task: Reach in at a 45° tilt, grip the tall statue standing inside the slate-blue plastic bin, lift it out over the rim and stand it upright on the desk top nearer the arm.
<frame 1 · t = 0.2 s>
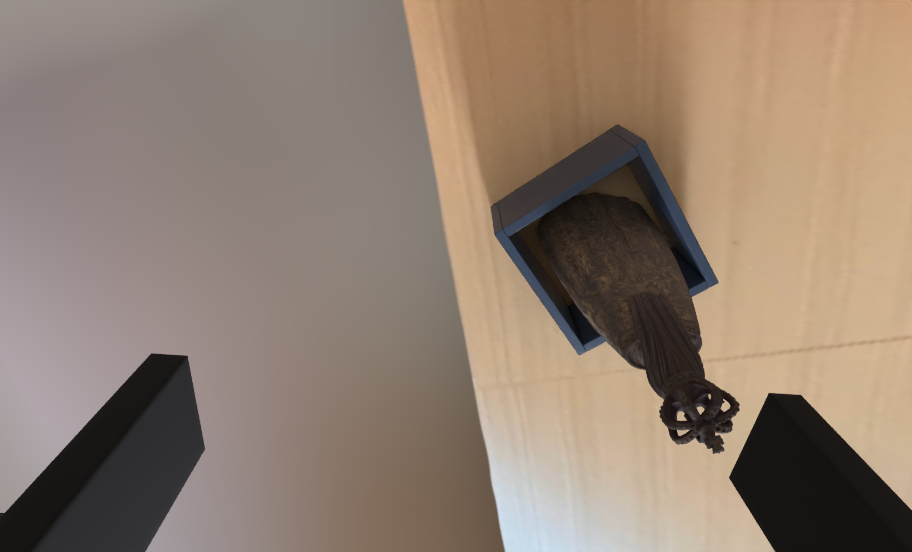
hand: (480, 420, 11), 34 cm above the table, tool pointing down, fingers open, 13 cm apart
bin: (588, 228, 45), on the table
statue: (588, 227, 45), resting in bin
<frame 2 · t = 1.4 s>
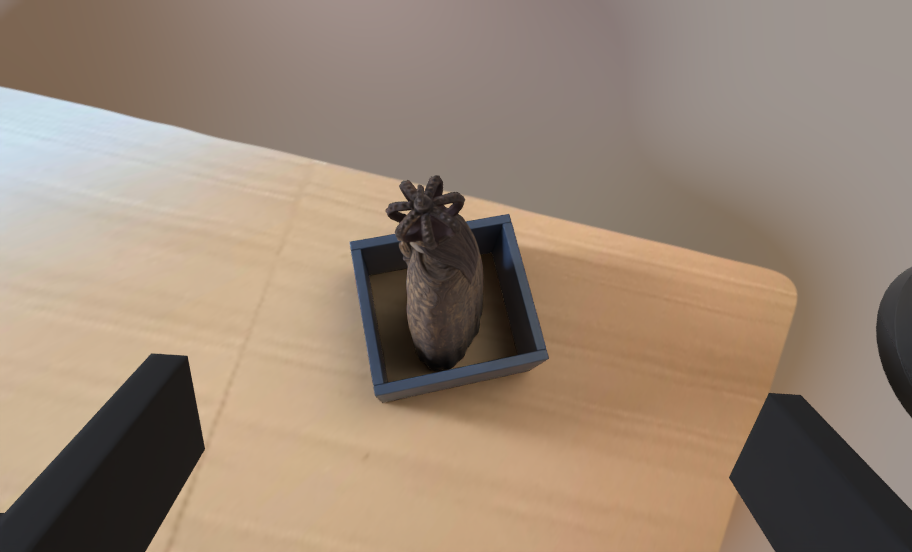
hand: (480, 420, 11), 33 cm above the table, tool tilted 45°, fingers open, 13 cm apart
bin: (443, 318, 46), on the table
statue: (443, 319, 46), resting in bin
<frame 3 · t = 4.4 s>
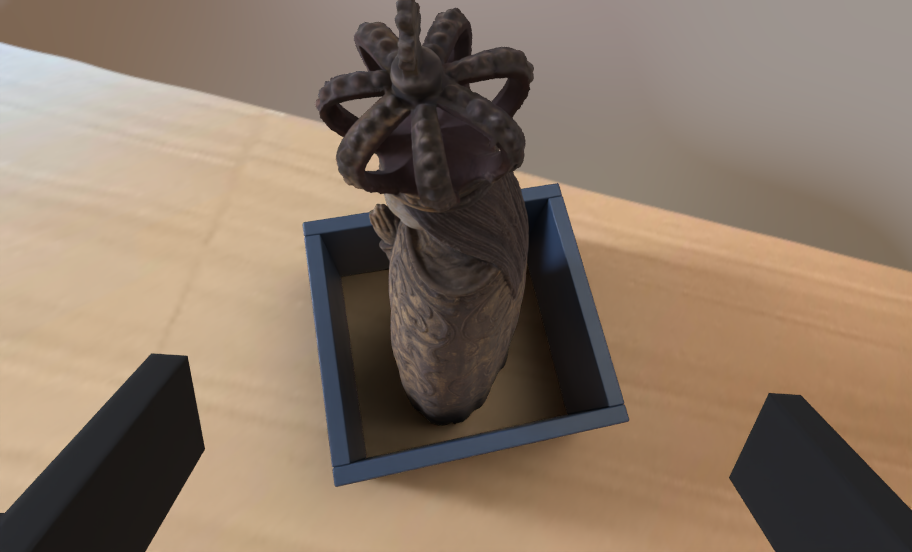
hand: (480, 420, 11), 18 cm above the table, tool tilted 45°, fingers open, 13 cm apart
bin: (450, 343, 30), on the table
statue: (450, 344, 31), resting in bin
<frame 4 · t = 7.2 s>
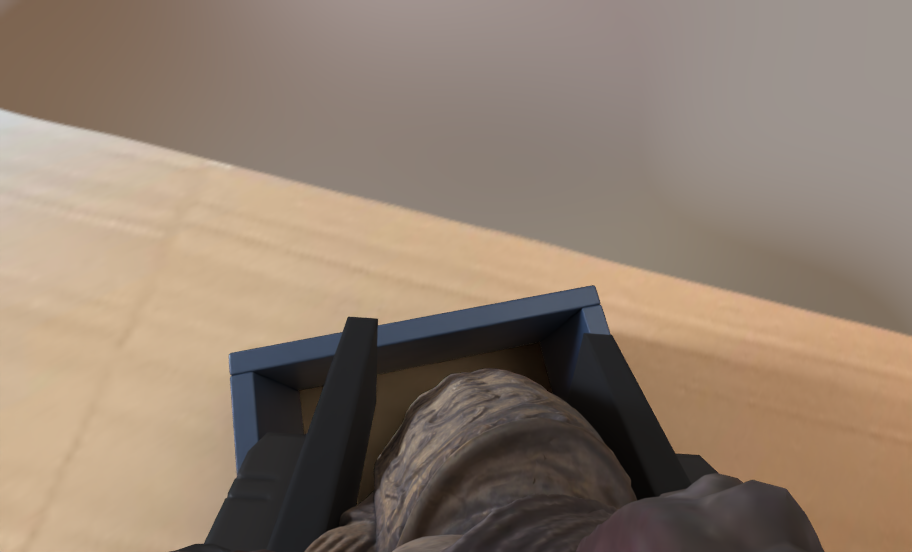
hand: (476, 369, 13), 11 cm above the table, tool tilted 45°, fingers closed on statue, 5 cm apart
bin: (445, 483, 23), on the table
statue: (445, 483, 23), resting in bin, touching gripper
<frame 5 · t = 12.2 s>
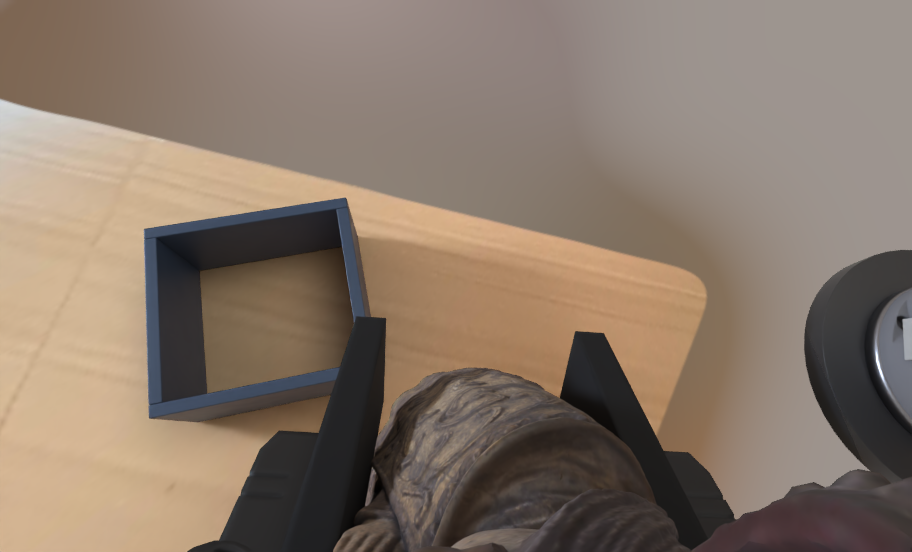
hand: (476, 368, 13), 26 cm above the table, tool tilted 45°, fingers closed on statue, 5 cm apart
bin: (283, 322, 39), on the table
statue: (419, 480, 23), point 14 cm above the table, touching gripper
when the fingers open (12 cm above the table, at t = 16.4 s): statue stays where it is, on the table.
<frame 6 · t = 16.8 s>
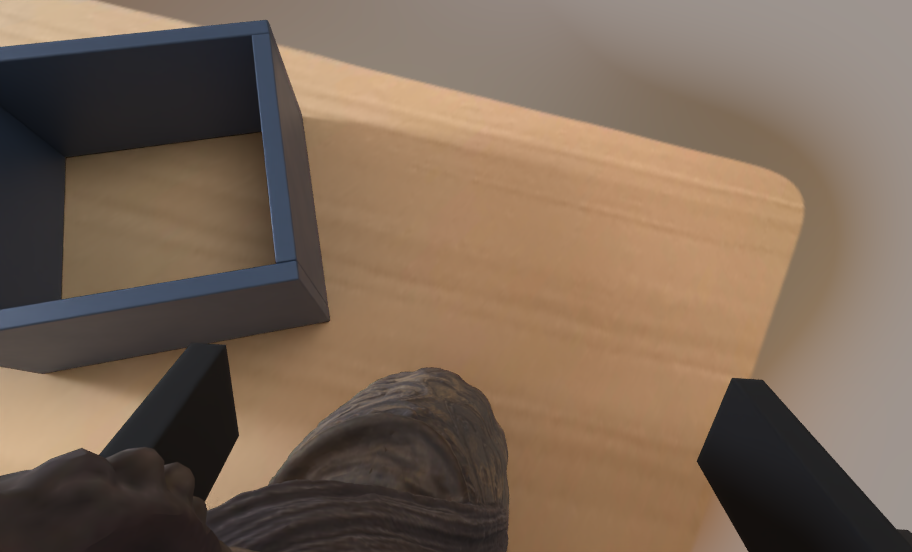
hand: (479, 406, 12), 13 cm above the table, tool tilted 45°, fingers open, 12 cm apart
bin: (185, 231, 26), on the table
statue: (418, 480, 23), on the table
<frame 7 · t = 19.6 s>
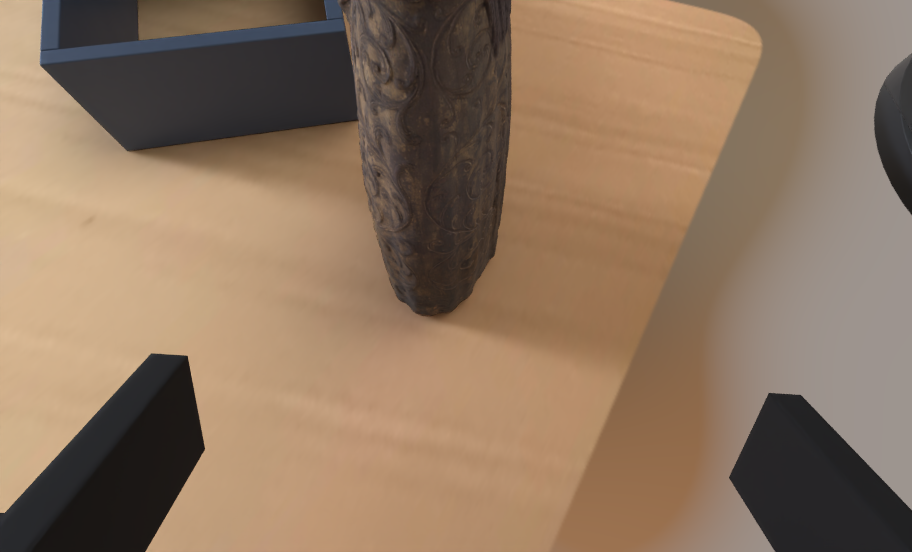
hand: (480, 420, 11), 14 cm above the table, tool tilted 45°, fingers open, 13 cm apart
bin: (239, 50, 31), on the table
statue: (436, 236, 28), on the table
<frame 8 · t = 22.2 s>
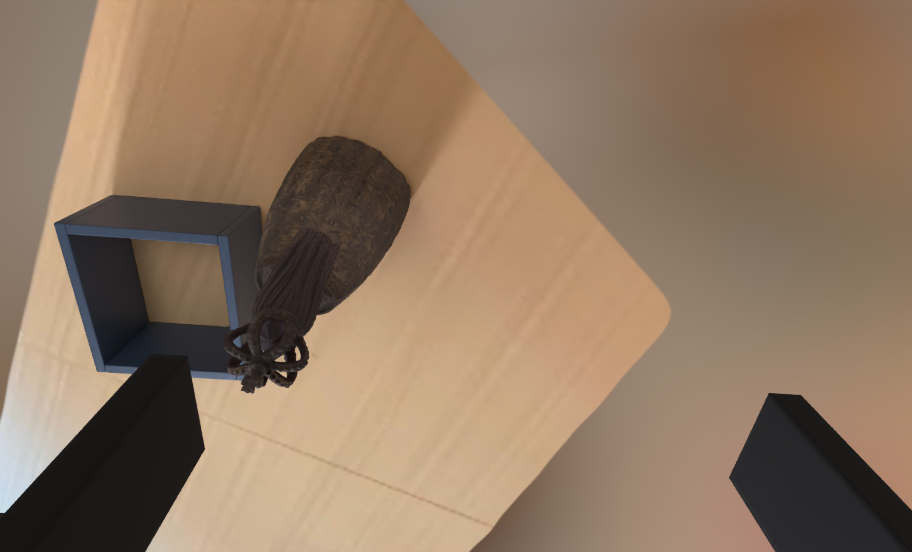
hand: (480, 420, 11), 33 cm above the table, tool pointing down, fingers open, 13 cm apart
bin: (197, 270, 46), on the table
statue: (356, 180, 42), on the table
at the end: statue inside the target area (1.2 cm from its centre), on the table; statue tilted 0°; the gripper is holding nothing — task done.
